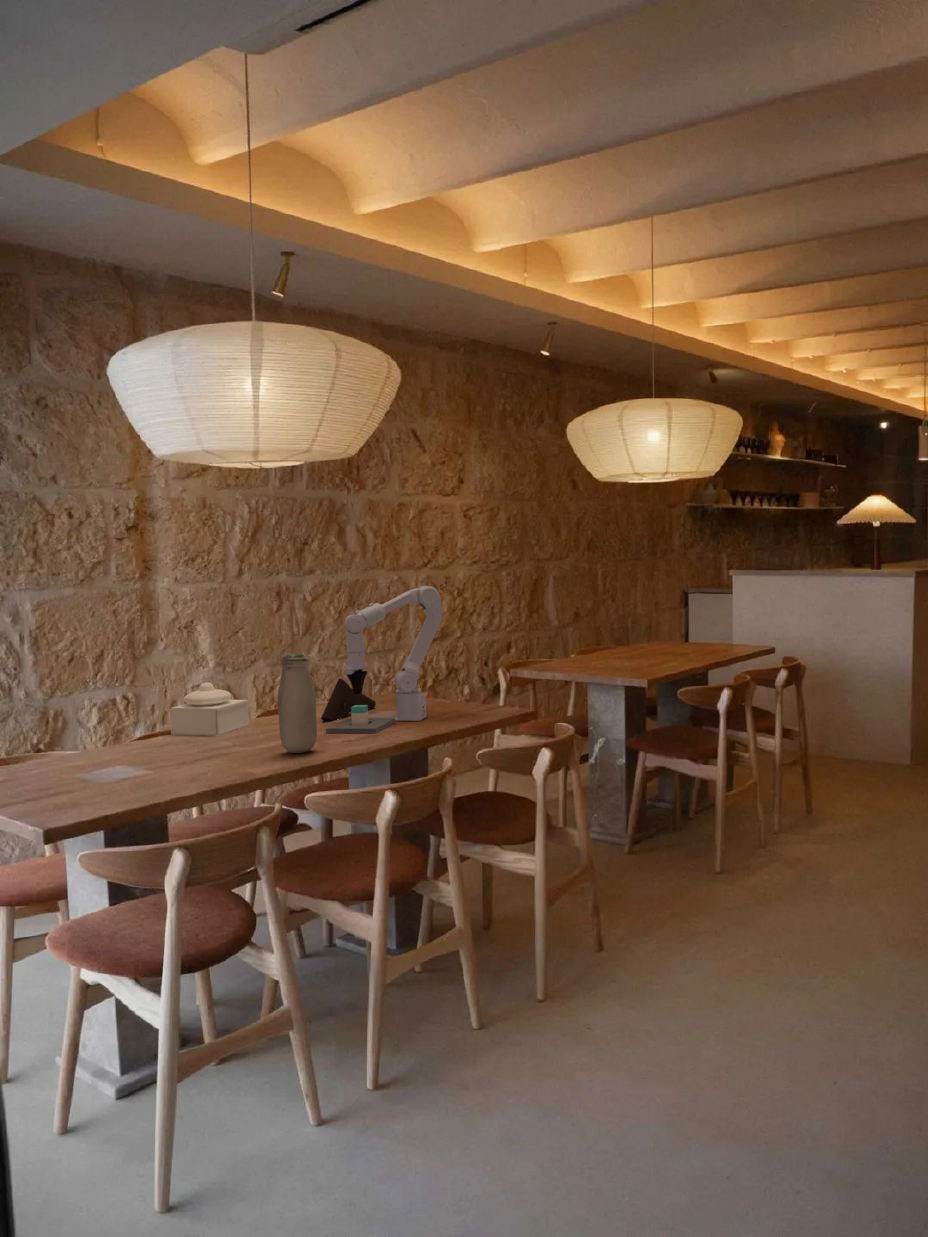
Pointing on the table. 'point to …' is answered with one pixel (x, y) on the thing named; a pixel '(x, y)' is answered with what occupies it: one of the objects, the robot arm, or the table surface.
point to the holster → (344, 701)
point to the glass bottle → (297, 704)
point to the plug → (359, 715)
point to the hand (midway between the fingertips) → (358, 694)
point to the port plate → (361, 726)
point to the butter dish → (208, 713)
